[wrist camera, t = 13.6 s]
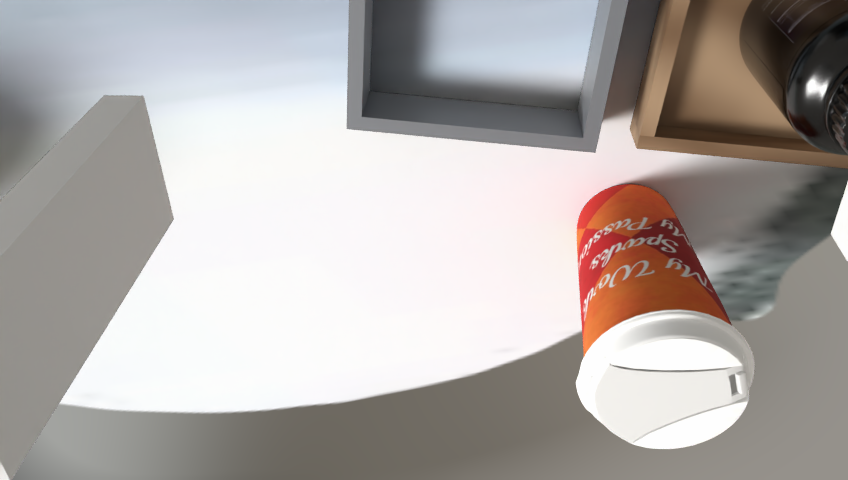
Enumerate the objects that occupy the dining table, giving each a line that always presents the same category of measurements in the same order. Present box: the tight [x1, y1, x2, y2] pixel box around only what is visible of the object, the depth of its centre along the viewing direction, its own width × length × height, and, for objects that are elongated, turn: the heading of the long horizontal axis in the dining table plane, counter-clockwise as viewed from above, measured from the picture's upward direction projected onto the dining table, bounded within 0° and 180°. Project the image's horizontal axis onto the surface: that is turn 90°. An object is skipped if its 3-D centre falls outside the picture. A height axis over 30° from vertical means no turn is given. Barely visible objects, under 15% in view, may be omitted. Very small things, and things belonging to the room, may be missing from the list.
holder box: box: [347, 0, 628, 153], centre depth 40 cm, size 14×14×4 cm
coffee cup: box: [576, 184, 755, 449], centre depth 43 cm, size 8×8×15 cm
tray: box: [630, 0, 848, 169], centre depth 40 cm, size 15×15×2 cm
